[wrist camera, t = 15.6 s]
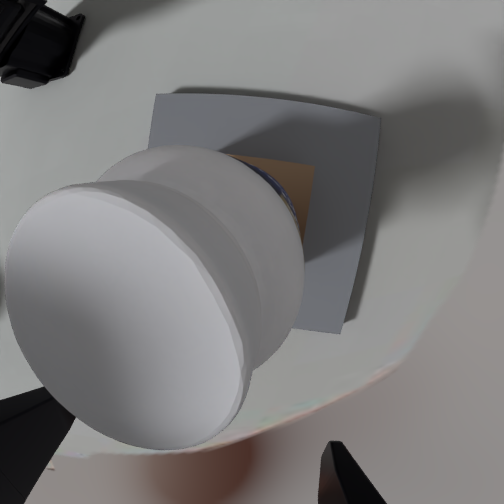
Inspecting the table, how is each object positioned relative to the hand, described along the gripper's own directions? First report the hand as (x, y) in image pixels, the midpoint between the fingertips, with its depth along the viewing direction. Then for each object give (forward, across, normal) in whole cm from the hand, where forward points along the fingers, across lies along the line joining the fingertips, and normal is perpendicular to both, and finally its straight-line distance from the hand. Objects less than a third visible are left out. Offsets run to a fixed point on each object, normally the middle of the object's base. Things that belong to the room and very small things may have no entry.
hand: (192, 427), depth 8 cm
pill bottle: (+6, 0, -6) cm, 8 cm away
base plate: (+12, 0, -6) cm, 13 cm away
